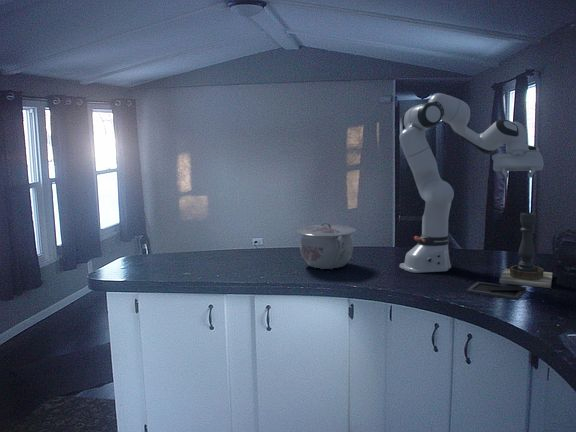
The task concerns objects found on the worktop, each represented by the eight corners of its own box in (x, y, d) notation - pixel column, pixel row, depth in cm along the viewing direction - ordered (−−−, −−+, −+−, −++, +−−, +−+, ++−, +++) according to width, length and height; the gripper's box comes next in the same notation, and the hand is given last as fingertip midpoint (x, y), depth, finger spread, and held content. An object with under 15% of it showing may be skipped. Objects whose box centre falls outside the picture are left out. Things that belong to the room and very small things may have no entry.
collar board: (550, 288, 201) (551, 276, 200) (499, 283, 209) (499, 271, 209) (552, 276, 217) (552, 265, 216) (504, 272, 225) (505, 261, 224)
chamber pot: (307, 257, 261) (306, 216, 258) (362, 260, 252) (362, 217, 249) (288, 272, 235) (287, 225, 232) (349, 276, 226) (348, 227, 223)
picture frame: (526, 292, 198) (477, 285, 209) (526, 287, 198) (477, 280, 209) (517, 301, 188) (466, 293, 199) (517, 296, 188) (466, 288, 198)
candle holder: (536, 277, 209) (538, 215, 206) (519, 277, 211) (521, 215, 207) (532, 273, 215) (534, 212, 212) (515, 273, 217) (517, 212, 213)
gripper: (492, 148, 237) (493, 172, 230) (542, 147, 231) (545, 171, 223) (491, 158, 242) (492, 181, 235) (540, 157, 236) (543, 181, 228)
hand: (518, 176), depth 229 cm, fingers open, 8 cm apart
